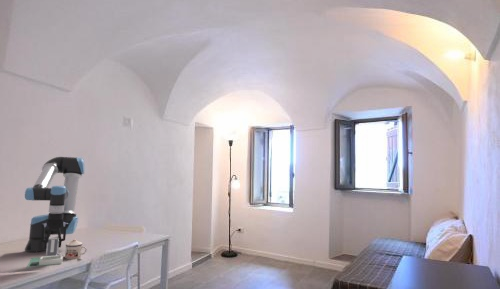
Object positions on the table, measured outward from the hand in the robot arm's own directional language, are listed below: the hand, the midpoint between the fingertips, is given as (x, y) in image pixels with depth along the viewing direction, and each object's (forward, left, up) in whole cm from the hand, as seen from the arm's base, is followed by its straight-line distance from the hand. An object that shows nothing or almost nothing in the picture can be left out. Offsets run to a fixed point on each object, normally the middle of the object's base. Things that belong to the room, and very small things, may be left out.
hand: (52, 253), depth 181 cm
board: (-3, -3, -6) cm, 8 cm away
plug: (0, 0, -1) cm, 1 cm away
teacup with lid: (-9, +12, -6) cm, 16 cm away
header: (0, 0, -5) cm, 5 cm away
